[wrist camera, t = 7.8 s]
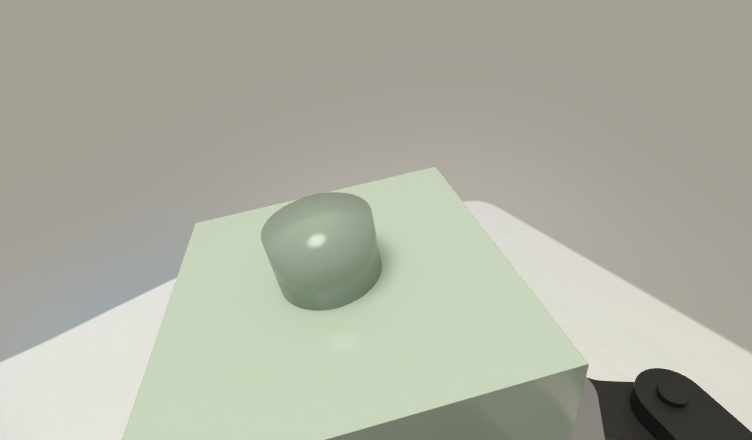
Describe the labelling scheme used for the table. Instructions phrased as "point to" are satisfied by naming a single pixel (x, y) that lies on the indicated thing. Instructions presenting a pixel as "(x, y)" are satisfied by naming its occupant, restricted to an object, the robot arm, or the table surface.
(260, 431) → the green cover
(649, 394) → the robot arm
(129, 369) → the table surface
